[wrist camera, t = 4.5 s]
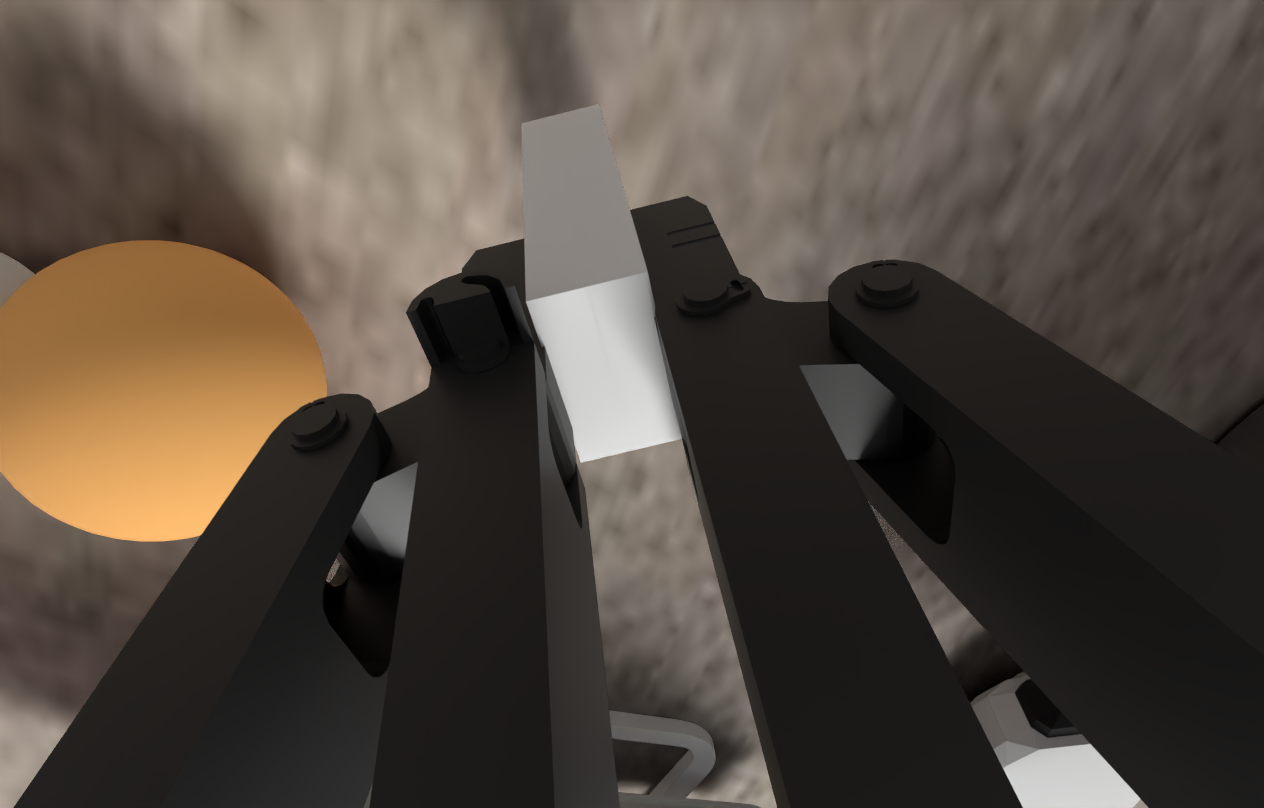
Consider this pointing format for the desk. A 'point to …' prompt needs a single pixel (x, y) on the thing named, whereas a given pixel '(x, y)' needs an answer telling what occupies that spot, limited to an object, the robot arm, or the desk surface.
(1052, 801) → the robot toy
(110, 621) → the desk surface
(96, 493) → the ball
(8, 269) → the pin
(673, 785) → the network device
